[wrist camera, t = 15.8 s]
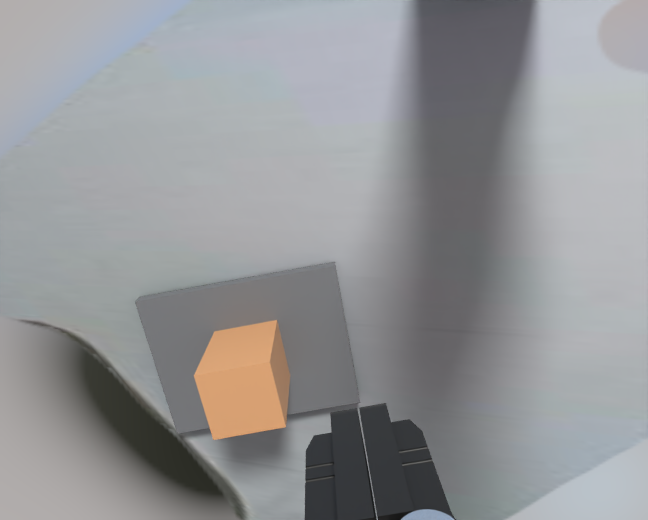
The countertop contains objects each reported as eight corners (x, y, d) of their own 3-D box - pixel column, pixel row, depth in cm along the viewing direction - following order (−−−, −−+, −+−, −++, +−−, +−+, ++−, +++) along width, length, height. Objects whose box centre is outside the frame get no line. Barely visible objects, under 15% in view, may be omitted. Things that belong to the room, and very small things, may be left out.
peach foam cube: (277, 319, 41) (269, 362, 34) (290, 375, 43) (285, 427, 36) (214, 331, 41) (193, 375, 34) (229, 386, 43) (213, 440, 36)
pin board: (334, 261, 41) (339, 289, 34) (358, 395, 45) (367, 444, 38) (139, 296, 42) (105, 331, 35) (180, 425, 46) (157, 479, 39)
